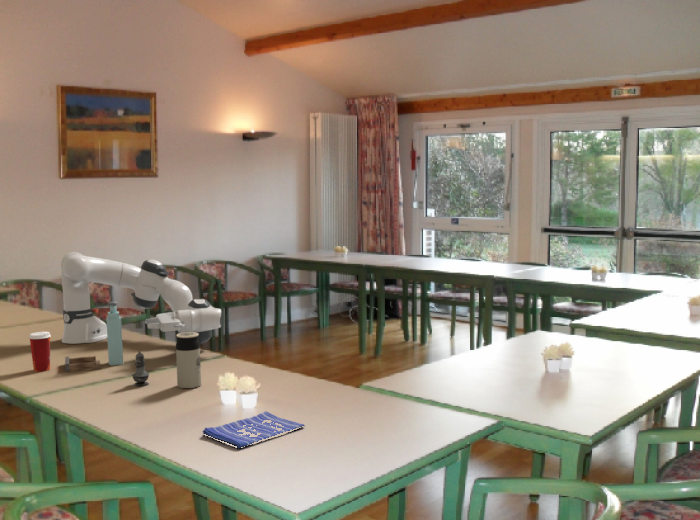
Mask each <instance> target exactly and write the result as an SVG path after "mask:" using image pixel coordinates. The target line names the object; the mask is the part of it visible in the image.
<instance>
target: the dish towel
mask: <svg viewBox="0 0 700 520" xmlns="http://www.w3.org/2000/svg"><path fill="white" fill-rule="evenodd" d="M264 420H271V421H272V422H271V423H267V422H265V423H263V424H262V422H263V421H264ZM273 422H274V423H273ZM275 423H278V424H281V425H282V426H284V427H282V426H279V425H276V424H275ZM251 424H253V425H251ZM270 424H271V425H270ZM243 425H246V426H244V427H243ZM256 425H257V426H256ZM265 425H266V426H265ZM271 426H273V427H275V428H272V427H271ZM276 426H277V428H282V430H280V431H278V430H277V429H276ZM302 426H304V427H306V426H305V424H302V423H299V422H296V421H292V420H289V419H285V418H281V417H278V416H277V415H274V414H273V413H270V412H268V411H263V412H261V413H259V414H257V415H253V416H252V417H247V418H244V419H240V420H237V421H233V422H230V423H226V424H223V425H218V426H216V427H215V426H214V427H213V426H211V427H204V429H203V430H202V431H201V432H202V434H206V435H208V436H211V437H213V438H215V439H218V440H221V441H224V442H227V443H229V444H232V445H234V446H237V448H241V447H244V446H247V445H250V444H252V443H254V442H258V441H259V440H262V439H266V438H269V437H272V436H275V435H277V434H280V433H283V432H286V431H290V430H293V429H296V428H299V427H302ZM248 427H252V428H251V429H250V428H248ZM242 429H245V431H246V432H250V433H251V434H252V433H253V434H255V435H257V433H261V434H260V435H258V436H257V437H249V436H250V434H248V435H247V434H246V435H242V436H241V435H239V434H243V433H244V432H237V431H239V430H242ZM254 429H255V430H256V431H253V430H254ZM274 431H276V432H274ZM244 448H245V447H244Z"/></svg>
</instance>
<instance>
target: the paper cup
mask: <svg viewBox="0 0 700 520" xmlns="http://www.w3.org/2000/svg"><path fill="white" fill-rule="evenodd" d="M51 335H52V334H50V332H49V331H36V332H31V333H30V334H29V337H28V339H29V343H30V353H31V358H32V367H33V371H34V372H35V371H36V372H35V373H42V372H41V371H44V372H47V370H48V371H50V369H51V337H52V336H51Z"/></svg>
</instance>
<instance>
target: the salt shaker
mask: <svg viewBox="0 0 700 520" xmlns="http://www.w3.org/2000/svg"><path fill="white" fill-rule="evenodd" d="M134 366H135V372H134V373H132V375H131V376H132V379H133V382H134V383H133V384H132V385H133V387H136V388H139V387H141V388H142V387H146V386H149V385H150V383H149V382H148V380H149V377H150V372H147V371H146V368H145V367H146V362H145V355H144V353H143V352H141V350H139V351H138V353H136V355H135V363H134Z"/></svg>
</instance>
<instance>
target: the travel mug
mask: <svg viewBox="0 0 700 520" xmlns="http://www.w3.org/2000/svg"><path fill="white" fill-rule="evenodd" d="M198 335H199V334H198V333H195V332H181V333H179V332H178V333H177V334H176V335H175V336H176V337H177V340H176V343H175V351H176V352H175V355H176V377H177V379H176V380H177V388H180V389H183V388H190V389H196V388H198V387H200V386H201V385H202V371H201V368H202V367H201V344H200V343H199V341H198ZM195 387H196V388H195Z"/></svg>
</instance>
